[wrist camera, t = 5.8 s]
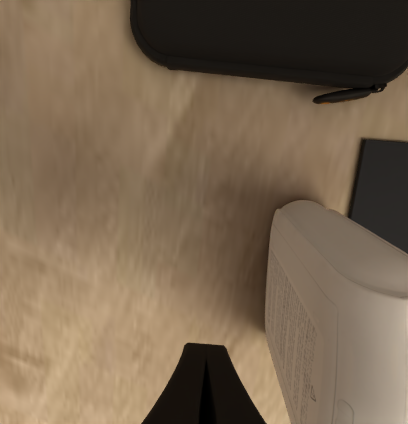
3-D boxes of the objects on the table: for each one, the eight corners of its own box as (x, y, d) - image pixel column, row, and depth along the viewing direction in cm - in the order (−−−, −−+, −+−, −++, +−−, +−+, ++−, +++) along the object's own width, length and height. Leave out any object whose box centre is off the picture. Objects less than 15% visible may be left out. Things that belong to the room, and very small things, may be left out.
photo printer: (321, 344, 22) (457, 590, 10) (259, 343, 22) (321, 587, 10) (337, 199, 20) (539, 295, 8) (268, 198, 20) (363, 293, 8)
